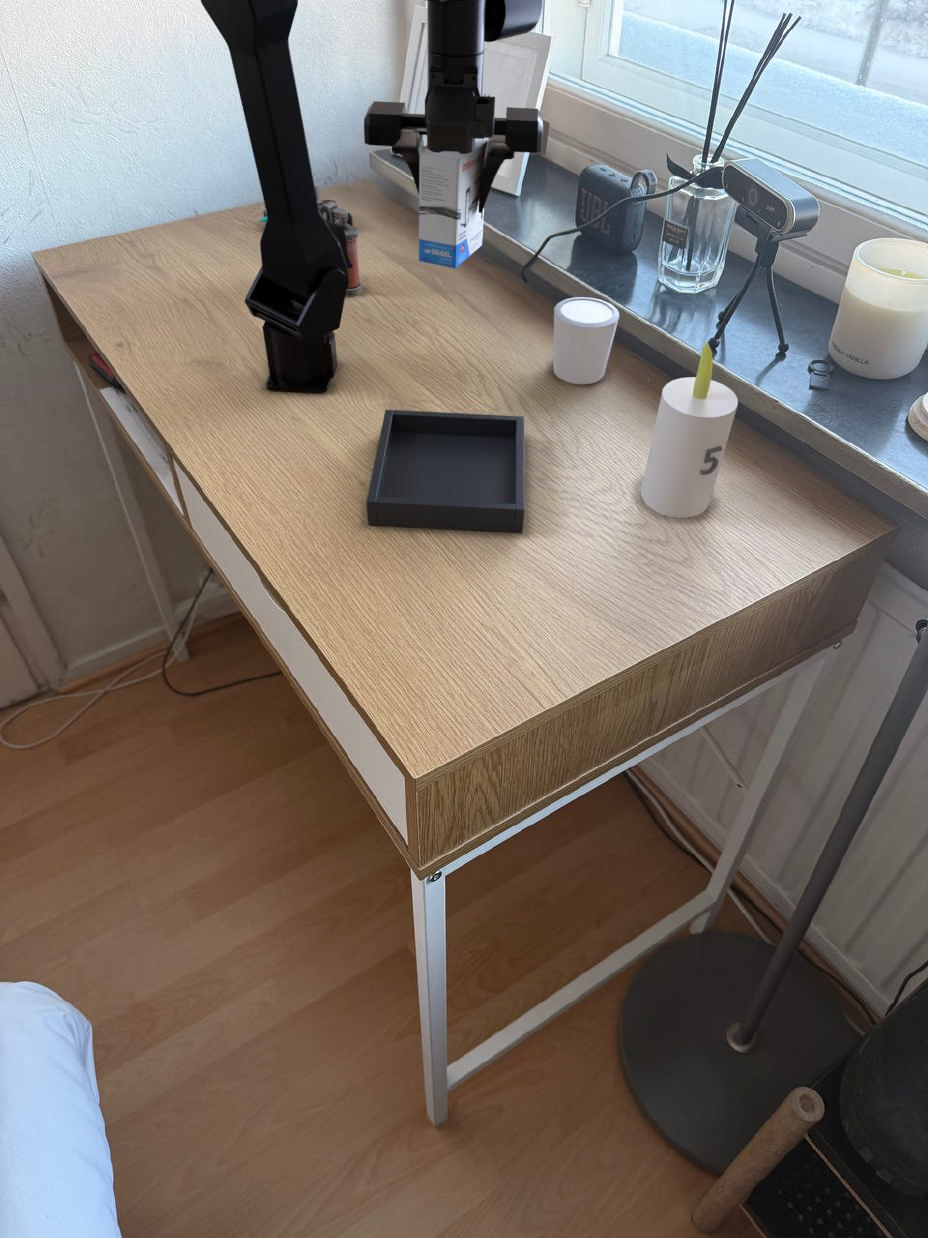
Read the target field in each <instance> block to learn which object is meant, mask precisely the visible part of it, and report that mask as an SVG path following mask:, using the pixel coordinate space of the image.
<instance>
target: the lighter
mask: <svg viewBox="0 0 928 1238" xmlns="http://www.w3.org/2000/svg"><path fill="white" fill-rule="evenodd" d="M322 201H323V200H320V199H319V200H317V202H318V207H319V211H320V213H321V215H322V217H323V218H324V219H325V220H327V221H329V222H332V223H334V224H337V225H339V226H341V227H343V228H344V230H345V233H346V236H347V253H348V256H349V260H350V262H351V263H352V265H353V267H352V268H348V272H349V285H348V289H347V290H346V295H345V297H356V296H359V295H360V294H362V283H361V282H360V270H359V269H360V267H359V266H360V265H359V251H358V250H359V249H358V238H359V228H357V227H355V226H354V225H353V226H351V225H349V224H347V220H348V213H349V212H348V209H345V208H342V207H339V205H338V204H337V202H336V201H335V202H336V203H335V202H333V201H334V200H333V201H331V202H329V203H327V204H325V203H322ZM347 212H348V213H347Z"/></svg>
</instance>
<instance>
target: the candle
mask: <svg viewBox="0 0 928 1238" xmlns="http://www.w3.org/2000/svg"><path fill="white" fill-rule="evenodd" d="M713 367H714V360H713V351H712V348H711V346H710V344H709V343H708V342H705V343H704V344H703V347H702V351H701V355H700V360H699V364H698V367H697V371H696V375H695V376H693V377H692V376H691V377H690V376H689V377H688V376H687V377H680V378H676V379H672V380H670V381H669V382H668V383H666V384H665V385H664V387H662V391H661V395H660V401H659V405H658V409H657V415H656V419H655V424H654V428H653V432H652V433H653V435H652V436H651V437H652V438H651V442H650V447H649V452H648V456H647V461H646V466H645V470H644V475H643V479H642V484H641V487H640V488H641V490H640V496H641V499H642V501H643V503H644V504H645V505H646V506H647V507H648V508H649V509H650V510H652V511H654V512H656V513H658V514H659V515H661V516H665V517H668V518H669V517H670V518H676V519H688V518H694V517H697V516H700V515H702V514H703V513H704V512H705V511H707V509H708V507H709V505H710V503H711V498H712V495H713V492H714V488H715V485H716V481H717V478H718V475H719V471H720V467H721V465H722V461H723V457H724V454H725V450H726V447H727V444H728V440H729V437H730V433H731V430H732V426H733V423H734V419H735V416H736V412H737V409H738V405H739V399H738V397H737V395H736V393H735V392H734V391H733V390H732V389H731V388H730V387H728V386H727V385H725V384H723V383H720V382H719V381H717V380H716V381H715V380H713V379H712V377H713V376H712V375H713Z"/></svg>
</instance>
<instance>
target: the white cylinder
mask: <svg viewBox="0 0 928 1238" xmlns="http://www.w3.org/2000/svg"><path fill="white" fill-rule="evenodd" d="M553 309H554V310H553V312H554V313H553V367H552V368H553V374H555V376H556V377H557V378H558V379H560V380H562V381H563V382H566V383H569V384H573V385H590V384H594V383H597V382H598V381H600V380H602V379H603V377H604V376H605V373H606V369H607V365H608V362H609V357H610V354H611V350H612V347H613V342H614V338H615V335H616V331H617V327H618V323H619V319H620V312H619V309H618V308H617V307H615V306H614V304H612V303H609V302H608V301H606V300H603V299H600V298H595V297H588V296H587V297H586V296H584V297H583V296H576V297H570V298H569V297H568V298H566V299H564V300H561V301H559V302H557V304H556V305H555V306H554V308H553Z"/></svg>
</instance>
